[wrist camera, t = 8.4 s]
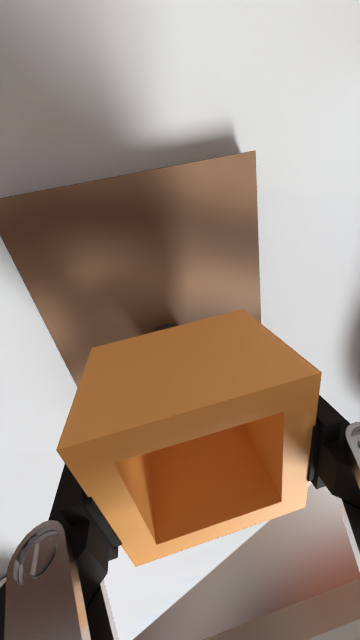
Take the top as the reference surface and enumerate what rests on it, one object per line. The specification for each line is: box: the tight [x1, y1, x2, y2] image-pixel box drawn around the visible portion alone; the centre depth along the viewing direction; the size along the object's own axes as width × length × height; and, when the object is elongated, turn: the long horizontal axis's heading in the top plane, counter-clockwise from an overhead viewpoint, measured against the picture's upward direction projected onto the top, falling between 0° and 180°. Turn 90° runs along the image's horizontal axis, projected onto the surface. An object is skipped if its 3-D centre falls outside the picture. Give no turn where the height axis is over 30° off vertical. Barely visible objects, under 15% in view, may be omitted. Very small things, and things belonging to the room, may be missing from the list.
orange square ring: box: [56, 309, 322, 567], centre depth 9 cm, size 7×7×4 cm
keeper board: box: [0, 151, 261, 387], centre depth 14 cm, size 20×14×7 cm
